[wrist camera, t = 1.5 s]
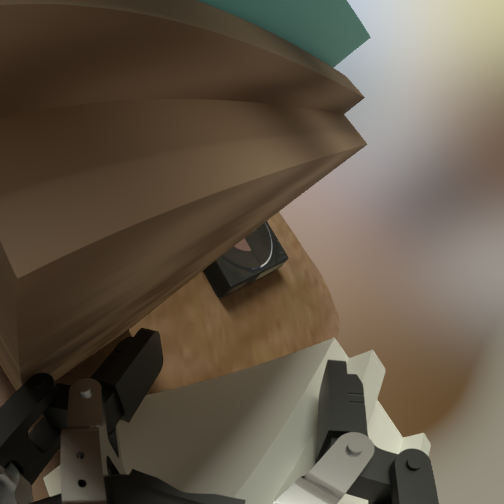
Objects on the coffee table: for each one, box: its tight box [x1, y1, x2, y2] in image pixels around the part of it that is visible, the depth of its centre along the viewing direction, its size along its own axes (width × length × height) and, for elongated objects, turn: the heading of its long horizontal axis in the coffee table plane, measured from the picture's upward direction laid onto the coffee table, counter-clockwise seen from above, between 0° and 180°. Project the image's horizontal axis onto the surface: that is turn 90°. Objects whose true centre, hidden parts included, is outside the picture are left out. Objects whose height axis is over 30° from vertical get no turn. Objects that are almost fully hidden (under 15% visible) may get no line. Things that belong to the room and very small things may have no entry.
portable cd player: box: [203, 221, 288, 297], centre depth 53 cm, size 16×17×4 cm
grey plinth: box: [43, 337, 431, 504], centre depth 16 cm, size 16×12×28 cm
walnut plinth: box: [0, 0, 367, 391], centre depth 18 cm, size 16×12×34 cm
